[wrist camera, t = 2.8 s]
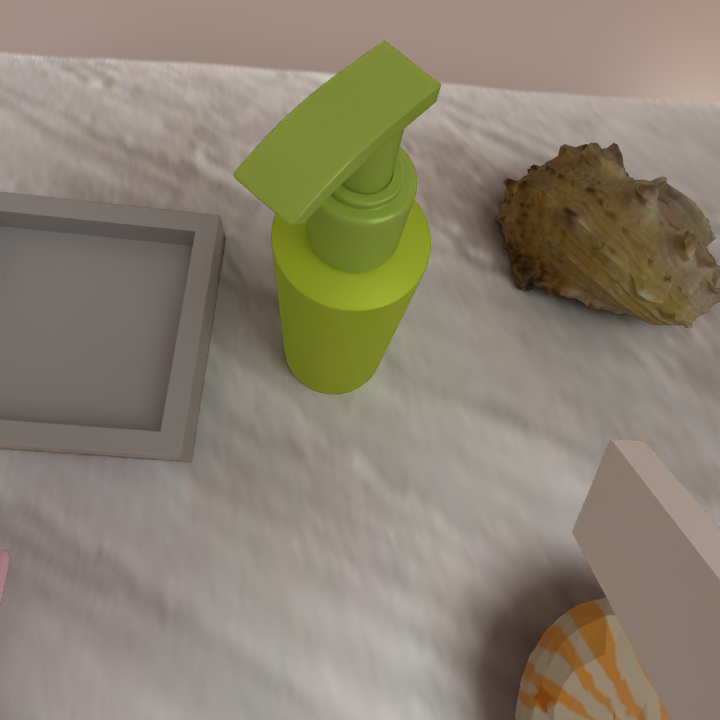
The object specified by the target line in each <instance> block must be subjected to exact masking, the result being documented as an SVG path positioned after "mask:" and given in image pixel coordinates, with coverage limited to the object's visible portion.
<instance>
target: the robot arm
mask: <svg viewBox="0 0 720 720" xmlns="http://www.w3.org/2000/svg"><path fill="white" fill-rule="evenodd" d="M572 533H573V535H574V537H575V539H576V540H577V542H578V544H579V546H580V548H581V550H582V552H583V554H584V556H585V558H586V560H587V561H588V563H589V565H590V567H591V569H592V571H593V573H594V575H595V577H596V579H597V580H598V582H599V584H600V586H601V588H602V590H603V592H604V594H605V596H606V598H607V599H608V601H609V603H610V605H611V607H612V609H613V611H614V613H615V615H616V617H617V619H618V620H619V622H620V624H621V626H622V628H623V630H624V632H625V634H626V636H627V638H628V639H629V641H630V643H631V645H632V647H633V649H634V651H635V653H636V655H637V657H638V659H639V660H640V662H641V664H642V666H643V668H644V670H645V672H646V674H647V676H648V678H649V679H650V681H651V683H652V685H653V687H654V689H655V691H656V693H657V695H658V697H659V699H660V700H661V702H662V704H663V706H664V708H665V710H666V712H667V714H668V716H669V718H670V719H671V720H720V528H719V527H718V526H717V525H716V524H715V522H714V521H713V520H712V519H711V518H710V517H709V515H708V514H707V513H706V512H705V511H704V510H703V508H702V507H701V506H700V505H699V504H698V503H697V502H696V500H695V499H694V498H693V497H692V496H691V495H690V493H689V492H688V491H687V490H686V489H685V488H684V486H683V485H682V484H681V483H680V482H679V481H678V480H677V478H676V477H675V476H674V475H673V474H672V473H671V471H670V470H669V469H668V468H667V467H666V466H665V464H664V463H663V462H662V461H661V460H660V459H659V458H658V456H657V455H656V454H655V453H654V452H653V451H652V449H651V448H650V447H649V446H648V445H647V444H646V442H645V441H634V440H620V439H610V442H609V444H608V447H607V449H606V451H605V454H604V456H603V459H602V461H601V463H600V466H599V468H598V471H597V473H596V476H595V478H594V480H593V483H592V485H591V488H590V490H589V492H588V495H587V497H586V500H585V502H584V504H583V507H582V509H581V512H580V514H579V517H578V519H577V521H576V524H575V526H574V529H573V531H572Z"/></svg>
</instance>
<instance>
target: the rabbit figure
mask: <svg viewBox="0 0 720 720" xmlns="http://www.w3.org/2000/svg"><path fill="white" fill-rule="evenodd" d="M9 563H10V553H9V551H8V550H3V551H2V552H1V553H0V604H1V599H2V595H3V591H4V586H5V582H6V578H7V574H8V569H9Z"/></svg>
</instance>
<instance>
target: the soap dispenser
mask: <svg viewBox="0 0 720 720" xmlns="http://www.w3.org/2000/svg"><path fill="white" fill-rule="evenodd" d="M440 87H441V84H440V83H439V82H438V81H436V80H435V79H434V78H432V77H431V76H430V75H429V74H427V73H426V72H425V71H423V70H422V69H421V68H420V67H418V66H417V65H416V64H414V63H413V62H412V61H410V60H409V59H408V58H407V57H405V56H404V55H403V54H402V53H400V52H399V51H398V50H396V49H395V48H394V47H393V46H391V45H390V44H389V43H387V42H386V41H383V42H382V43H380V44H379V45H378V46H376V47H375V48H373V49H372V50H370V51H369V52H367V53H366V54H364V55H363V56H362V57H360V58H359V59H357V60H356V61H354V62H353V63H352V64H350V65H349V66H348V67H346V68H345V69H343V70H342V71H341V72H339V73H338V74H337V75H335V76H334V77H332V78H331V79H330V80H329V81H327V82H326V83H325V84H323V85H322V86H321V87H320V88H318V89H317V90H316V91H315V92H313V93H312V94H311V95H310V96H309V97H307V98H306V99H305V100H304V101H303V102H302V103H300V104H299V105H298V106H297V107H296V108H295V109H294V110H293V111H292V112H290V113H289V114H288V115H287V116H286V117H285V118H284V119H283V120H282V121H281V122H280V123H279V124H278V125H277V126H276V127H275V128H274V129H273V130H272V131H271V132H270V133H269V134H268V135H267V136H266V137H265V138H264V139H263V141H262V142H261V143H260V144H259V145H258V146H257V147H256V148H255V149H254V150H253V151H252V152H251V154H250V155H249V156H248V157H247V158H246V159H245V160H244V161H243V163H242V164H241V165H240V166H239V167H238V169H237V170H236V171H235V172H234V177H235V178H236V180H238V181H239V182H240V183H241V184H242V185H243V186H244V187H246V188H247V189H248V190H249V191H250V192H251V193H252V194H254V195H255V196H256V197H257V198H258V199H259V200H261V201H262V202H263V203H264V204H265V205H266V206H268V207H269V208H270V209H271V210H272V211H273V212H275V213H276V214H275V217H274V220H273V224H272V233H271V240H272V250H273V258H274V267H275V275H276V284H277V292H278V300H279V309H280V317H281V326H282V334H283V343H284V351H285V357H286V361H287V363H288V366H289V368H290V370H291V371H292V373H293V374H294V376H295V377H296V378H297V379H298V380H299V381H300V382H301V383H303V384H304V385H305V386H307V387H309V388H310V389H312V390H315V391H318V392H321V393H326V394H342V393H347V392H350V391H353V390H355V389H357V388H359V387H360V386H362V385H363V384H365V383H366V382H367V381H368V380H369V379H370V378H371V377H372V375H373V374H374V372H375V371H376V369H377V367H378V365H379V363H380V361H381V359H382V357H383V355H384V353H385V351H386V349H387V347H388V345H389V343H390V341H391V339H392V337H393V334H394V332H395V330H396V328H397V326H398V324H399V322H400V320H401V318H402V316H403V314H404V312H405V310H406V308H407V306H408V304H409V302H410V300H411V298H412V296H413V294H414V292H415V290H416V288H417V286H418V284H419V282H420V280H421V278H422V276H423V274H424V272H425V269H426V267H427V264H428V261H429V257H430V251H431V237H430V231H429V226H428V223H427V220H426V218H425V216H424V213H423V212H422V210H421V208H420V207H419V205H418V204H417V202H416V201H415V200H414V198H415V194H416V189H417V176H416V171H415V168H414V165H413V163H412V161H411V159H410V158H409V156H408V155H407V153H406V152H405V151H404V150H403V149H402V148H401V147H400V143H401V139H402V135H403V131H404V128H406V127H407V126H408V125H409V124H410V123H411V122H413V121H414V120H415V119H416V118H417V117H418V116H420V115H421V114H422V113H423V112H424V111H426V110H427V109H428V108H429V107H430V106H431V105H433V104H434V103H435V102H436V100H437V97H438V94H439V90H440Z"/></svg>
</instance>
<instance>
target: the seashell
mask: <svg viewBox="0 0 720 720" xmlns="http://www.w3.org/2000/svg"><path fill="white" fill-rule="evenodd" d="M504 184H505V185H506V188H507V191H506V192H505V194H506V200H505V203H504V204H502V205H501V214H500V215H498V216H497V217H496V218H495V221H496V222H497V223H499V224H501V225H502V228H503V230H502V233H503V234H504V236H505V241H506V243H505V245H504V247H503V248H506V249H508V250H509V252H510V254H509V256H510V257H511V259H512V264H511V269H512V271H513V273H514V275H515V285H516V286H517V287H518V288H519V289H521V290H523V291H524V292H525V291H528V290H530V289H532V288H534V287H541V288H545V289H546V292H547V294H548V295H550V296H554V295H555V294H560V295H561V296H565V297H566V298H577V299H578V300H580V301H581V302H582V303H584V304H585V307H590V309H598V310H602V309H604V310H609V311H610V312H611V313H613V314H623V313H626V314H629V315H631V316H634V317H636V318H638V319H640V320H643V321H646V322H648V323H650V324H653V325H683V326H685V327H686V328H692V322H693V321H694V320H696V319H697V318H698V317H699V316H700V315H702V314H705V313H708V310H709V309H710V308H711V307H712V306H713V305H715V304H716V303H718V302H720V267H719V266H718V265H717V264H716V261H715V259H714V258H713V256H712V255H711V254H710V253H709V251H708V249H707V248H706V247H707V246H708V245H709V243H711V242H712V241H713V240H715V239H716V238H715V236H714V233H713V232H712V231H711V227H710V226H709V220H708V219H707V218H706V217H705V216H704V214H703V212H702V211H701V210H700V209H699V208H698V207H697V206H696V204H695V203H694V202H693V201H691V200H690V199H689V198H688V197H686V196H685V195H684V194H682V193H681V192H679V191H678V190H676V189H674V188H673V187H671V186H670V185H668V184H667V182H666V177H660V178H657V179H655V180H652V181H646V180H634V179H633V178H630V177H629V175H628V173H626V171H625V168H624V166H623V158H622V154H621V152H620V149H619V147H618V145H617V144H615V143H613V144H612V145H610V146H609V147H608V148H605V149H601V147H600V146H599V145H598V144H597V143H590V144H589V145H587V144H585V145H582V146H578V147H572V146H569V145H566V144H565V145H562V146H561V147H560V150H559V154H558V156H557V157H555V158H554V159H552V160H550V161H548V162H546V164H545V165H542V166H541V167H540V166H537V165H532V166H531V169H528V175H527V176H524V177H523V178H522V179H521V180H520V181H515V180H512V179H509V178H508V179H507V180H505V181H504Z"/></svg>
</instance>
